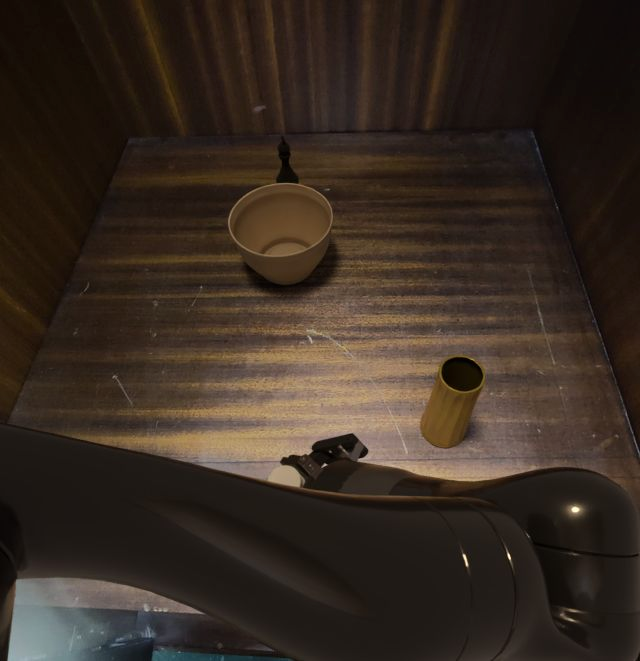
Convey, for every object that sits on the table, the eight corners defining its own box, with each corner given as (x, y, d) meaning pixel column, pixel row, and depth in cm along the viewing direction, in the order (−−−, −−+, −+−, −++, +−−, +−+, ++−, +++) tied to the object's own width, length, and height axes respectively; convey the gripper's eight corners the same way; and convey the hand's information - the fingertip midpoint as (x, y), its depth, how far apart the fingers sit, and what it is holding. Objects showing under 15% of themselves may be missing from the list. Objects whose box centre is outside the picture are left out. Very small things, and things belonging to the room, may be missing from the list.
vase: (475, 433, 69) (501, 379, 58) (439, 456, 67) (459, 406, 56) (445, 399, 72) (464, 342, 61) (410, 421, 71) (423, 366, 59)
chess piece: (293, 171, 103) (289, 126, 94) (302, 184, 100) (298, 139, 92) (273, 178, 102) (266, 133, 94) (281, 191, 99) (275, 146, 91)
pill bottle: (263, 510, 58) (253, 487, 52) (287, 478, 60) (280, 452, 54) (294, 532, 57) (288, 511, 51) (317, 499, 59) (314, 475, 53)
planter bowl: (221, 263, 89) (207, 215, 80) (293, 219, 95) (288, 169, 86) (279, 318, 82) (270, 272, 73) (353, 266, 87) (354, 218, 78)
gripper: (390, 414, 44) (288, 410, 58) (295, 565, 37) (205, 520, 52) (438, 469, 47) (329, 453, 61) (356, 620, 40) (255, 562, 54)
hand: (273, 484), depth 56 cm, fingers closed on pill bottle, 4 cm apart
